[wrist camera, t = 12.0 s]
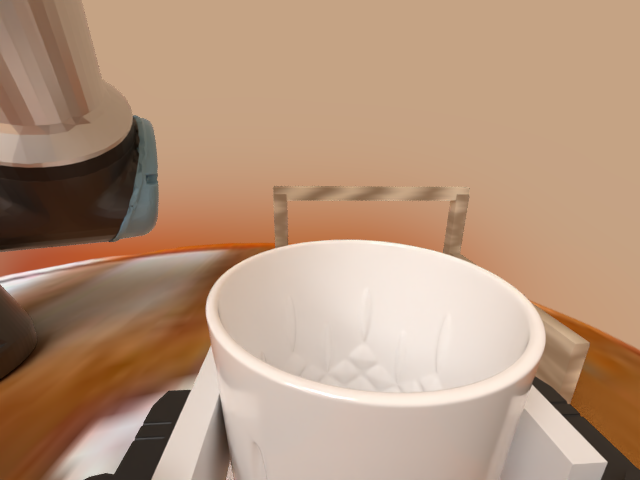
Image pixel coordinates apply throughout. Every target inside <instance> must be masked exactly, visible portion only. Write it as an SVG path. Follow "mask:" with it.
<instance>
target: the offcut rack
mask: <svg viewBox="0 0 640 480" xmlns="http://www.w3.org/2000/svg"><path fill="white" fill-rule="evenodd" d="M273 189H274V223H275V248H279V247H283V246H287V245H288V220H287V219H288V218H287V200H450V207H449V215H448V221H447V228H446V235H445V242H444V249H443V253H444V254H447V255H451V256H454V257H457V258H460V259H462V260H465V261H468V262H470V263H472V264H474V263H473V262H471V261H470V260H468V259H467V258H466V257H464V256H463V255H461V254H460V249H461V244H462V237H463V231H464V225H465V219H466V213H467V207H468V201H469V189H470V188H466V187H344V186H343V187H340V186H338V187H337V186H335V187H334V186H321V187H320V186H314V187H313V186H274V188H273ZM475 265H476V264H475ZM532 304H533V303H532ZM533 306H534V307H535V308H536V310H537V311H538V313H539V315H540V317H541V319H542V321H543V324H544V327H545V332H546V344H545V349H544V352H543V355H542V358H541V361H540V363H539V366H538V369H537V372H536V375H535V376H536V377H537V378H539V379H540V380H542V381H544V382H545V383H547V384H548V385H550V386H551V387H553V388H554V389H555V390H556V391H557V392H558V393H559V394H560V395H561V396H562V397H563V398H564V399H565V400H566V401H567V404H570V402H571V399H572V396H573V393H574V390H575V387H576V384H577V381H578V378H579V376H580V373H581V370H582V367H583V364H584V361H585V358H586V355H587V352H588V349H589V346H590V343H589V342H588V341H586V340H585V339H583V338H582V337H581V336H579V335H578V334H576V333H575V332H573V331H572V330H570V329H569V328H567V327H566V326H565V325H563V324H562V323H560V322H559V321H557V320H556V319H554V318H553V317H551V316H550V315H549V314H547V313H546V312H544V311H543V310H541V309H540V308H538V307H537V306H535V305H534V304H533Z"/></svg>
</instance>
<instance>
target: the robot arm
mask: <svg viewBox="0 0 640 480" xmlns="http://www.w3.org/2000/svg"><path fill="white" fill-rule="evenodd" d="M157 168H158V165H157V152H156V142H155V135H154V130H153V127H152V124H151V123H150V121H148V120H146V119H144V118H140V117H138V116H136V115H134V116H133V115H132V111H131V108H130V105H129V104H128V101H127V100H126V98H125V97H124V96H123V95H122V93H121V92H119V91H118V90H117V89H116V88H115V87H114V86H112V85H111V84H109V83H107V82H106V81H104V80H102V77H101V73H100V70H99V66H98V62H97V58H96V54H95V51H94V47H93V43H92V39H91V35H90V31H89V27H88V24H87V20H86V16H85V12H84V8H83V4H82V0H0V252H5V251H16V250H26V249H35V248H47V247H57V246H67V245H76V244H88V243H97V242H107V241H108V242H115V241H118V240H119V239H123V238H129V237H136V236H142V235H145V234H147V233H149V232H150V231H151V230H152V229H153V228H154V227H155V225H156V221H157V217H158V181H157V176H158V174H157ZM36 343H37V334H36V331H35V328H34V325H33V322H32V319H31V317H30V316H29V314H28V313H27V312H26V311H25V310H24V309H23V308H22V307H21V306H20V305H19V304H18V303H17V302H16V301H15V300H14V299H13V297H12V296H11V295H10V294H9V293H8V292H7V291H6V290H5V289H4V288H3V287H2V286H1V285H0V379H1V378H3V377H4V376H5V375H7V374H8V373H10V372H11V371H12V370H13V369H15V368H16V367H17V366H18V365H20V364H21V363H22V362H23V361H24V360H25V359H26V358H27V357H28V356H29V354H30V353H31V352H32V351H33V349H34V347H35V346H36ZM229 463H230V453H229V447H228V441H227V435H226V429H225V424H224V418H223V411H222V405H221V399H220V393H219V387H218V382H217V376H216V370H215V364H214V358H213V352H212V347H210V349H209V351H208V353H207V356H206V358H205V360H204V362H203V365H202V367H201V369H200V371H199V374H198V376H197V378H196V380H195V383H194V385H193V387H192V389H191V390H178V391H168V392H167V393H166V394H165V395H164V396H163V397H162V398H160V399H159V400H158V401H157V402H156V403H155V404H154V405H153V407H152V408H151V410H150V412H149V414H148V415H147V417H146V419H145V421H144V423H143V426H141V428H140V430H139V431H138V433H137V435H136V437H135V441H133V442H132V444H131V446H130V447H129V449H128V451H127V453H126V454H125V456H124V458H123V460H122V461H121V463H120V465H119V467H118V468H117V470H116V472H115V474H108V473H104V474H100V475H95V476H91V477H89V478H87V479H85V480H226V477H227V472H228V468H229ZM500 480H640V470H639V469H638V468H636V467H635V466H634V465H633V464H632V463H631V462H630V461H629V460H628V459H627V458H626V457H625V456H624V455H623V454H622V453H621V452H620V451H619V450H617V449H616V448H615V447H614V446H613V445H612V444H611V443H610V442H609V441H608V440H607V439H606V438H605V437H604V436H603V435H602V434H601V433H600V432H599V431H598V430H597V429H595V428H594V427H593V426H592V425H591V424H590V423H589V422H588V421H587V420H586V419H585V418H584V417H581V416H580V413H579V412H578V411H577V410H576V409H575V408H573V407H572V406H571V405H570V404H567V401H566V400H565V399H564V398H563V397H562V396H561V395H560V394H559V393H558V392H557V391H556V390H555V389H554V388H553V387H551V386H550V385H548V384H547V383H545V382H544V381H542V380H540V379H539V378H537V377H536V376H535V378H534V381H533V383H532V386H531V389H530V392H529V395H528V398H527V401H526V404H525V407H524V409H523V412H522V415H521V418H520V421H519V424H518V427H517V430H516V433H515V436H514V439H513V442H512V445H511V448H510V451H509V454H508V457H507V460H506V463H505V466H504V469H503V472H502V475H501V478H500Z"/></svg>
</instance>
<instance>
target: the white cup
mask: <svg viewBox="0 0 640 480" xmlns="http://www.w3.org/2000/svg"><path fill="white" fill-rule="evenodd" d="M206 318H207V324H208V329H209V335H210V341H211V347H212V352H213V358H214V364H215V370H216V376H217V382H218V387H219V393H220V399H221V405H222V411H223V418H224V424H225V429H226V435H227V441H228V447H229V453H230V459H231V465H232V471H233V477H234V480H500V478H501V475H502V472H503V469H504V466H505V463H506V460H507V457H508V454H509V451H510V448H511V445H512V442H513V439H514V436H515V433H516V430H517V427H518V424H519V421H520V418H521V415H522V412H523V409H524V407H525V404H526V401H527V398H528V395H529V392H530V389H531V386H532V383H533V381H534V378H535V375H536V372H537V369H538V366H539V363H540V361H541V358H542V355H543V352H544V349H545V344H546V332H545V327H544V324H543V321H542V319H541V317H540V315H539V313H538V311H537V310H536V308H535V307H534V306H533V304H532V303H531V302H530V301H529V300H528V299H527V298H526V297H525V296H524V295H523V294H522V293H521V292H520V291H519V290H517V289H516V288H515V287H513V286H512V285H511V284H509V283H508V282H507V281H505V280H503V279H502V278H500V277H499V276H497V275H495V274H493V273H491V272H490V271H488V270H486V269H483V268H481V267H479V266H477V265H475V264H472V263H470V262H468V261H465V260H462V259H460V258H457V257H454V256H451V255H447V254H444V253H441V252H437V251H433V250H429V249H425V248H420V247H416V246H410V245H404V244H398V243H391V242H382V241H370V240H325V241H324V240H323V241H312V242H305V243H298V244H292V245H287V246H283V247H279V248H275V249H271V250H268V251H265V252H262V253H259V254H257V255H254V256H252V257H249V258H247V259H245V260H243V261H241V262H240V263H238V264H236V265H235V266H233V267H232V268H230V269H229V270H228V271H226V272H225V273H224V274H223V275H222V276H221V277H220V278H219V279H218V280H217V281H216V283H215V284H214V285H213V287H212V288H211V290H210V292H209V295H208V298H207V302H206Z"/></svg>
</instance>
